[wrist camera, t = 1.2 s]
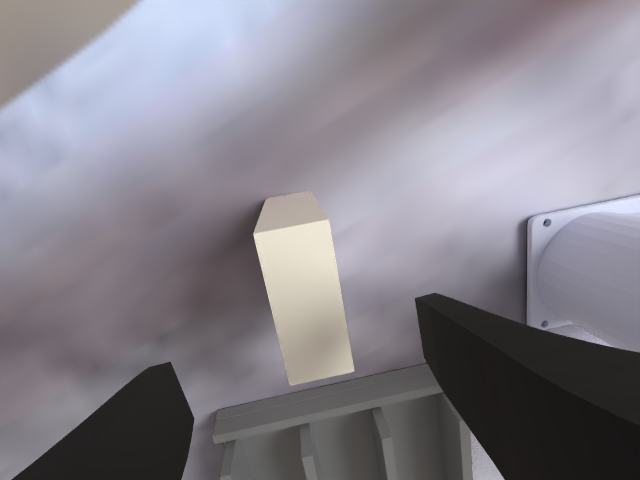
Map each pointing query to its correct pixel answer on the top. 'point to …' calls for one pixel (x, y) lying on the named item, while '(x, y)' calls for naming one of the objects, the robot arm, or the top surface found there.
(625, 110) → the top surface
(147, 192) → the top surface
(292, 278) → the cream rectangular block
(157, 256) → the top surface
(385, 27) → the top surface
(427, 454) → the dish rack
